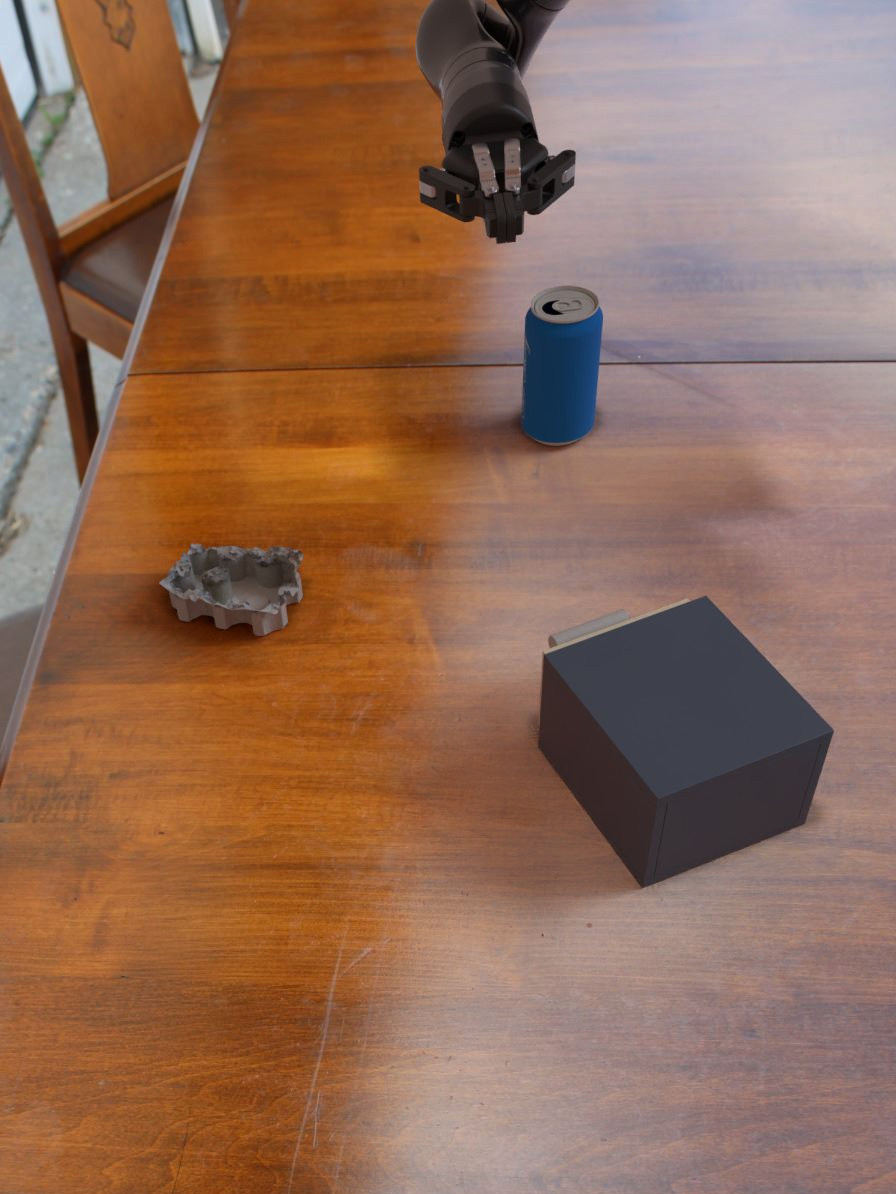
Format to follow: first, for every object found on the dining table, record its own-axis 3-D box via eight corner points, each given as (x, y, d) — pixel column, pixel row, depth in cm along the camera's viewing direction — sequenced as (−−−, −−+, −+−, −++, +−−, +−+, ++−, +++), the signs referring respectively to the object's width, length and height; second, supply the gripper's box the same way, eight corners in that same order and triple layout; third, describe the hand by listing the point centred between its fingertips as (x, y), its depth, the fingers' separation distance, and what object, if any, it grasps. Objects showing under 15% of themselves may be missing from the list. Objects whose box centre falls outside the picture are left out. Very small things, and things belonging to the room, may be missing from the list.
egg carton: (313, 588, 111) (309, 548, 107) (275, 647, 107) (269, 607, 103) (201, 562, 114) (194, 523, 111) (159, 618, 110) (151, 579, 107)
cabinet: (537, 747, 97) (543, 654, 90) (688, 690, 99) (706, 594, 92) (642, 888, 89) (657, 799, 81) (805, 823, 90) (834, 730, 83)
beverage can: (515, 414, 122) (519, 288, 113) (585, 404, 122) (595, 278, 112) (527, 455, 118) (533, 328, 109) (600, 445, 118) (611, 318, 109)
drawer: (512, 691, 100) (515, 617, 94) (646, 642, 101) (657, 566, 96) (633, 853, 89) (645, 780, 84) (780, 795, 91) (801, 720, 85)
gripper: (406, 89, 108) (417, 190, 98) (570, 70, 107) (599, 169, 97) (410, 184, 114) (421, 288, 104) (565, 166, 113) (592, 270, 103)
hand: (507, 230), depth 100 cm, fingers closed
